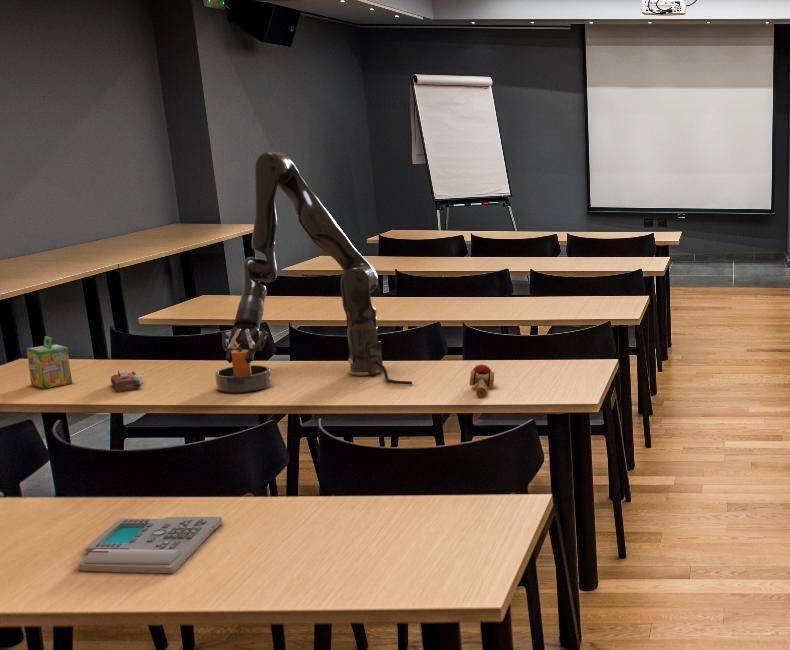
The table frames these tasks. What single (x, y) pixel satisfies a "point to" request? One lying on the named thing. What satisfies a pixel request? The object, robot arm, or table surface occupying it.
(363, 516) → the table surface
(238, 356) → the squash
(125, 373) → the grey and red device
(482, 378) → the kendama
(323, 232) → the robot arm
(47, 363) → the chalk box
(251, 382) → the bowl
